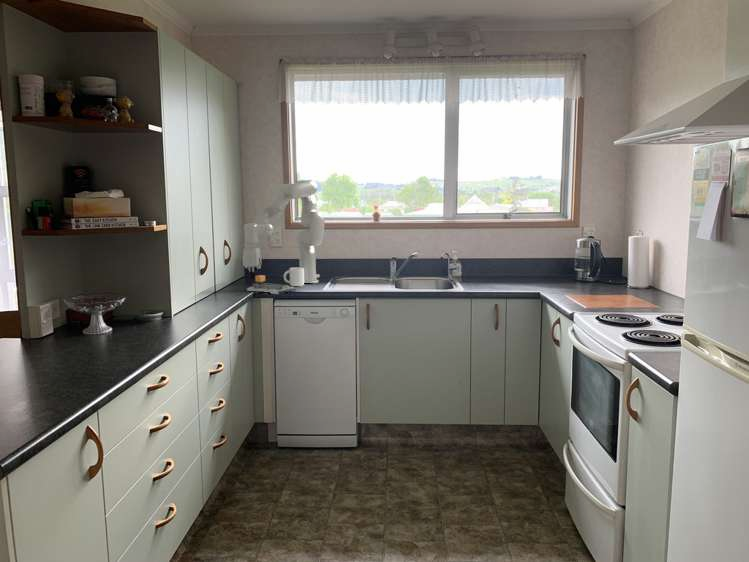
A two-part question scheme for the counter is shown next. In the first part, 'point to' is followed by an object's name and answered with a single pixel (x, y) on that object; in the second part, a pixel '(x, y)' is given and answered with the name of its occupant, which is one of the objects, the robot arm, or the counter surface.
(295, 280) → the mug
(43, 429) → the counter surface
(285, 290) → the grey bar
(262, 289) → the slider switch board
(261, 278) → the orange block
